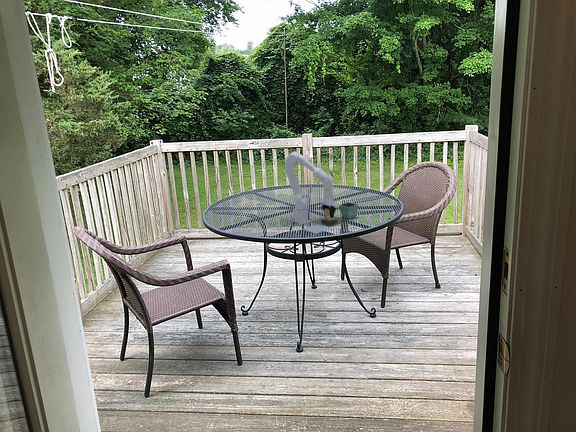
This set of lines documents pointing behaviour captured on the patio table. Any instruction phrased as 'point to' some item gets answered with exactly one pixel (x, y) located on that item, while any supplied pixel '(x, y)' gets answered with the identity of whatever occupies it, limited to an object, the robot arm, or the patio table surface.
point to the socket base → (329, 222)
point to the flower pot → (348, 210)
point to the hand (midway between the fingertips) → (329, 217)
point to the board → (316, 229)
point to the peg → (328, 215)
